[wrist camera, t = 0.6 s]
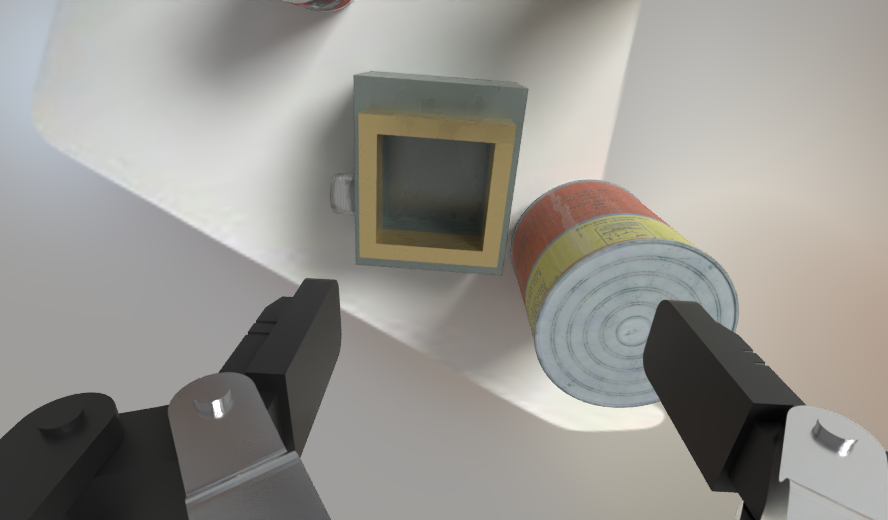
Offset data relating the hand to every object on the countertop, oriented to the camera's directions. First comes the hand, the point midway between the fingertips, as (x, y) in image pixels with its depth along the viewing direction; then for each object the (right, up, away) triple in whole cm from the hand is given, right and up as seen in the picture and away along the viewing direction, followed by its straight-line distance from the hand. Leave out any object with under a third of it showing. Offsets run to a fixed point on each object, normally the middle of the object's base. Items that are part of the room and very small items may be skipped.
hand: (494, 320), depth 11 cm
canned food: (+10, +3, +25) cm, 27 cm away
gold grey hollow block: (-3, +9, +22) cm, 24 cm away
